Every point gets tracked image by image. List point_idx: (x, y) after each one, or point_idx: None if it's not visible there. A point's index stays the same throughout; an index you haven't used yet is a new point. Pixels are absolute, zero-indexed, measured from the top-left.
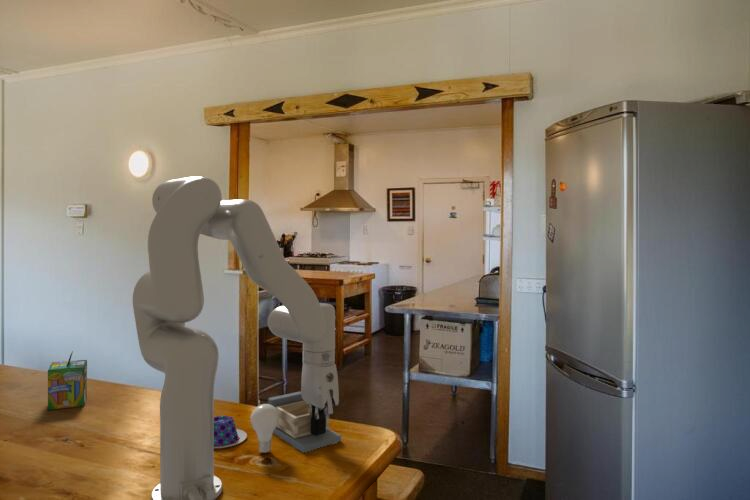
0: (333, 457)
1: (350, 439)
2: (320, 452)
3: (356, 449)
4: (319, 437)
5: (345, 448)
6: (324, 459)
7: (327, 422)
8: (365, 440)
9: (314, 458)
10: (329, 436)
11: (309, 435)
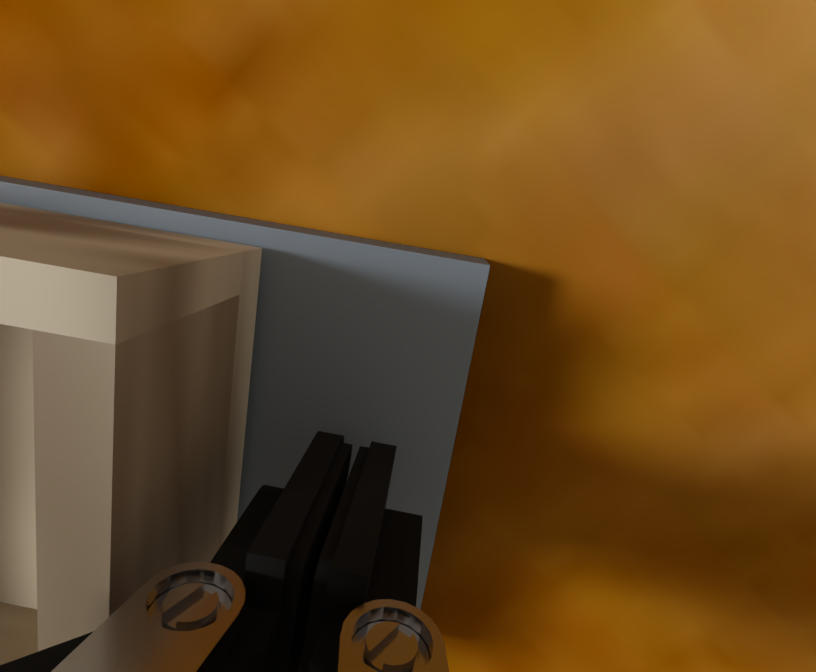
0: (664, 536)
1: (515, 138)
2: (505, 537)
3: (734, 282)
4: (354, 458)
5: (626, 339)
6: (628, 602)
7: (223, 282)
8: (670, 30)
9: (550, 635)
10: (410, 371)
11: (242, 485)
